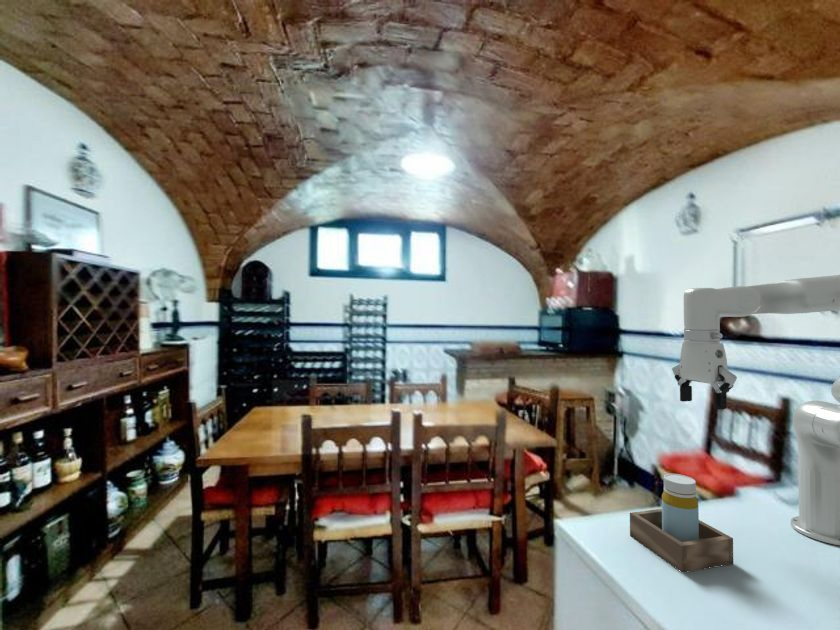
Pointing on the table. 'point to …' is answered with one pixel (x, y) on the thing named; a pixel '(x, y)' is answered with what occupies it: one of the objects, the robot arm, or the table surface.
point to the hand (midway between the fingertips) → (702, 404)
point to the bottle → (680, 508)
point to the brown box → (682, 543)
